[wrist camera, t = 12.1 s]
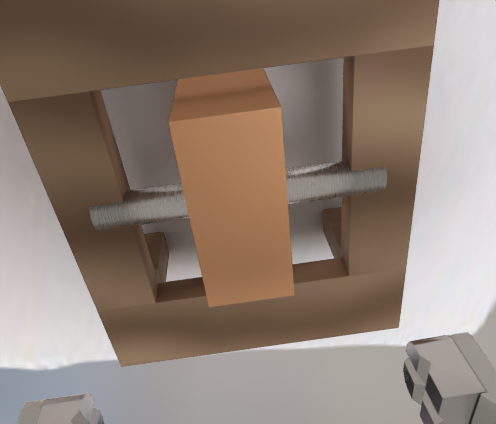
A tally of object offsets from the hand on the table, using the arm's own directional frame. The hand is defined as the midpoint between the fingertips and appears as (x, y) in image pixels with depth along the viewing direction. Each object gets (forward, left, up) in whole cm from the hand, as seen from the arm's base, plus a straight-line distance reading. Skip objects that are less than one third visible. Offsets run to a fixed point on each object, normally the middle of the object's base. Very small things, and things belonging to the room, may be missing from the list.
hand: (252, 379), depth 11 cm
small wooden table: (0, 0, -19) cm, 19 cm away
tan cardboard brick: (0, 0, -16) cm, 16 cm away
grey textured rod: (0, 0, -11) cm, 11 cm away
